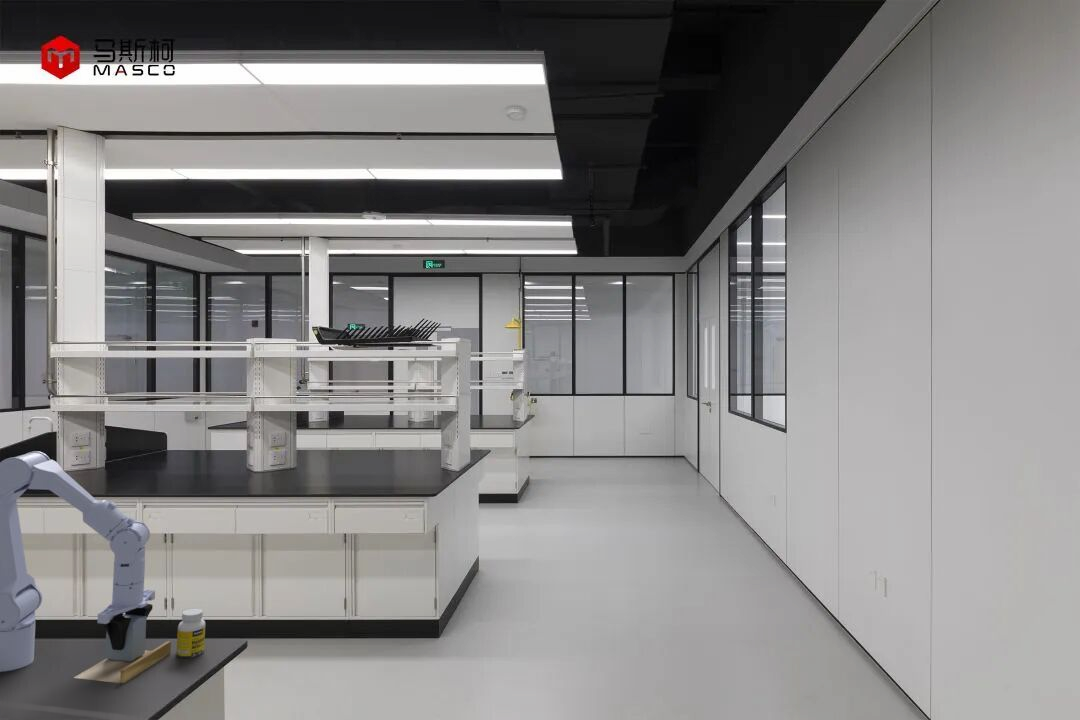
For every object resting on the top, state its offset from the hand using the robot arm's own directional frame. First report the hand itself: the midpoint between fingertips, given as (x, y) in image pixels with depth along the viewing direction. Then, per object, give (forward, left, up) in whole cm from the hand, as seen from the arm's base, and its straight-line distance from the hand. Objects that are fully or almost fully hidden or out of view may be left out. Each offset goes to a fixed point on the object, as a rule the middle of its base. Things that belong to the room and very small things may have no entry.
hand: (126, 644), depth 144 cm
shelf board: (+2, -3, -4) cm, 5 cm away
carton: (0, 0, -2) cm, 2 cm away
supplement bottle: (+12, +5, -4) cm, 13 cm away
